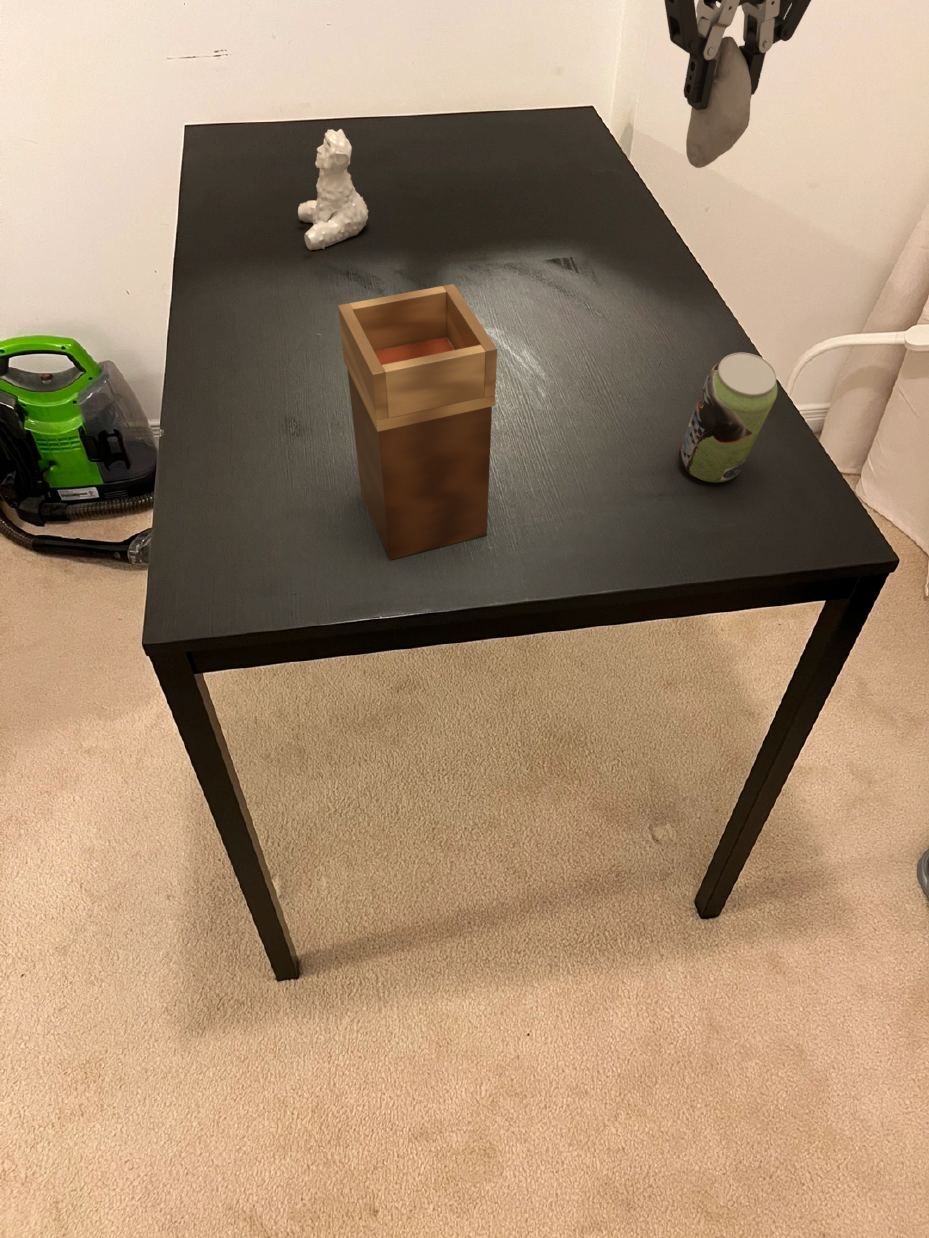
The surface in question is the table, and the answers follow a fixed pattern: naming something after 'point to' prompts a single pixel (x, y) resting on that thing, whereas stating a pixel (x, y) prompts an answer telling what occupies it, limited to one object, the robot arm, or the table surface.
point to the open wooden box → (418, 356)
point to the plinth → (424, 478)
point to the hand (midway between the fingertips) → (718, 102)
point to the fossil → (721, 108)
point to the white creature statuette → (333, 196)
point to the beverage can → (728, 417)
